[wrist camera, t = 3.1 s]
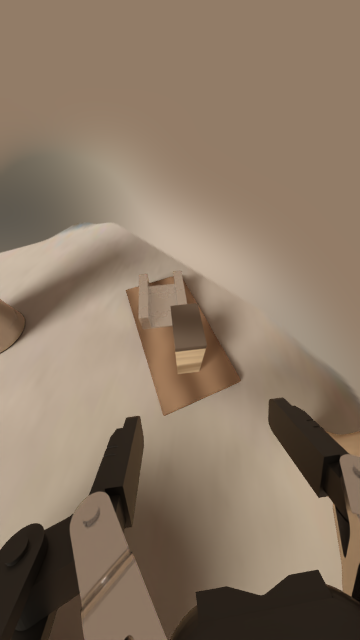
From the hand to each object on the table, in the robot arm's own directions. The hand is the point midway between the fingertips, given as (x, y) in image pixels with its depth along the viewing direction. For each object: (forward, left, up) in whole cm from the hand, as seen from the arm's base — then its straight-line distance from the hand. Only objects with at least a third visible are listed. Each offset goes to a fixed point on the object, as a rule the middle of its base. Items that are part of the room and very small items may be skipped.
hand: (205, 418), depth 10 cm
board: (+2, +13, -13) cm, 19 cm away
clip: (+2, +18, -12) cm, 22 cm away
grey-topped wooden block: (+2, +8, -12) cm, 14 cm away
